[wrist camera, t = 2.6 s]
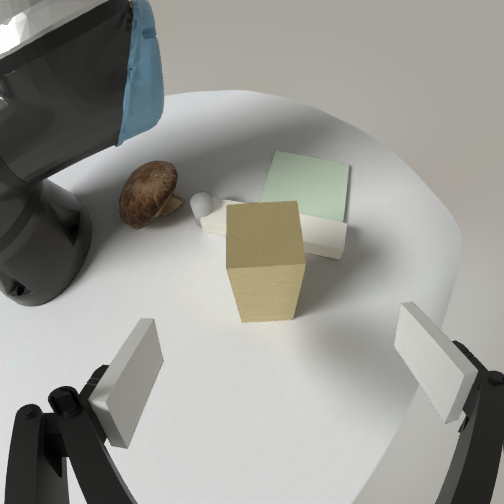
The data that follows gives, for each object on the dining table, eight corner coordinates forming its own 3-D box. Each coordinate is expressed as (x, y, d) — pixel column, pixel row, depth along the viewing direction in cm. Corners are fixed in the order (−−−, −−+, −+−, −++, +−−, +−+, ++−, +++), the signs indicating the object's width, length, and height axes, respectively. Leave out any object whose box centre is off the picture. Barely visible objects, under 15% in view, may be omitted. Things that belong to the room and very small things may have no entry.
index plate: (257, 211, 33) (256, 207, 32) (275, 154, 37) (275, 150, 36) (341, 228, 31) (342, 225, 31) (348, 167, 35) (349, 164, 35)
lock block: (242, 322, 27) (226, 268, 18) (240, 276, 29) (226, 204, 20) (292, 319, 27) (306, 263, 18) (288, 273, 29) (297, 200, 20)
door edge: (192, 229, 32) (185, 211, 29) (201, 206, 34) (196, 187, 31) (339, 259, 30) (346, 243, 27) (343, 234, 31) (349, 216, 28)
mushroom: (210, 187, 31) (161, 152, 27) (166, 253, 31) (114, 225, 27) (183, 175, 37) (143, 147, 33) (147, 229, 37) (105, 205, 33)
